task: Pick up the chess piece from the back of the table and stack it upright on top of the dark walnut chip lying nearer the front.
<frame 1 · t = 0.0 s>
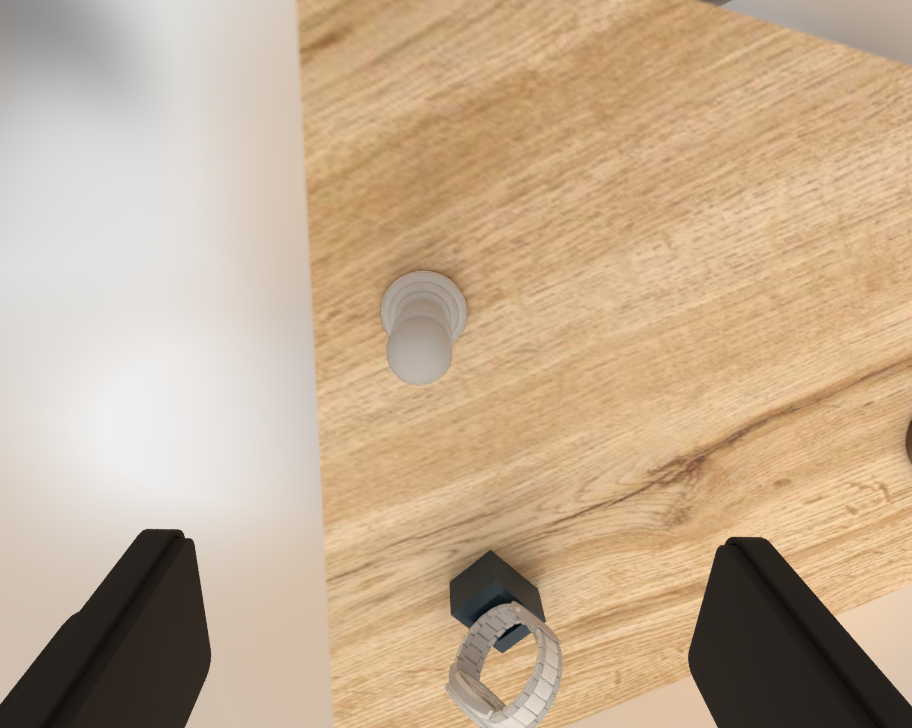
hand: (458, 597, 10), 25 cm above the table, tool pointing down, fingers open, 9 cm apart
watch: (493, 585, 42), on the table
chess piece: (424, 310, 34), on the table
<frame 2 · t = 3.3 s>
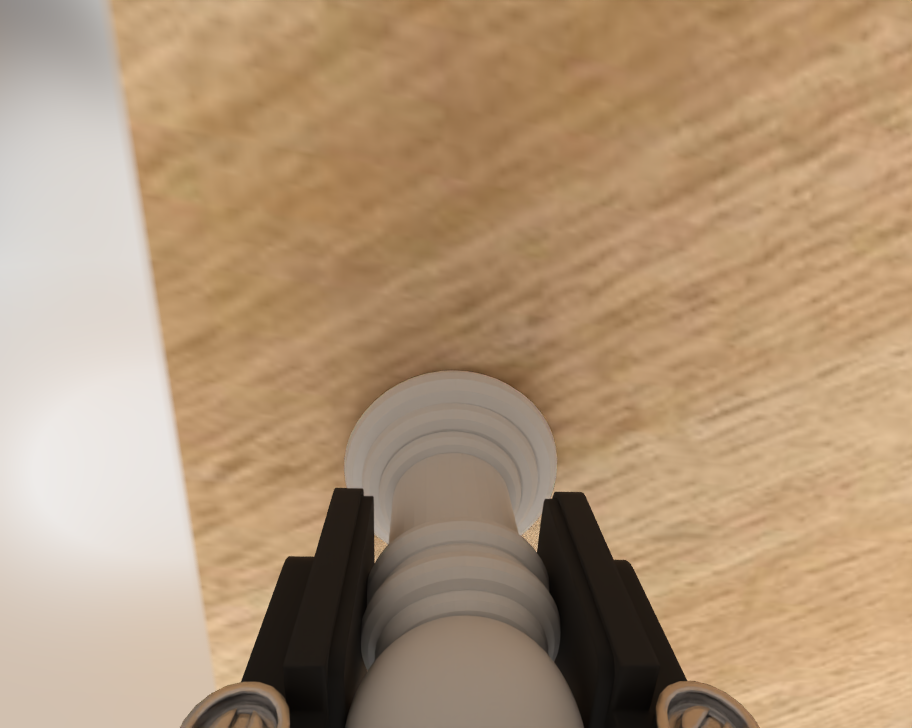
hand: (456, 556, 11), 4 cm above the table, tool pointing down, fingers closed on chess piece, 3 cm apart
chess piece: (450, 454, 14), on the table, touching gripper
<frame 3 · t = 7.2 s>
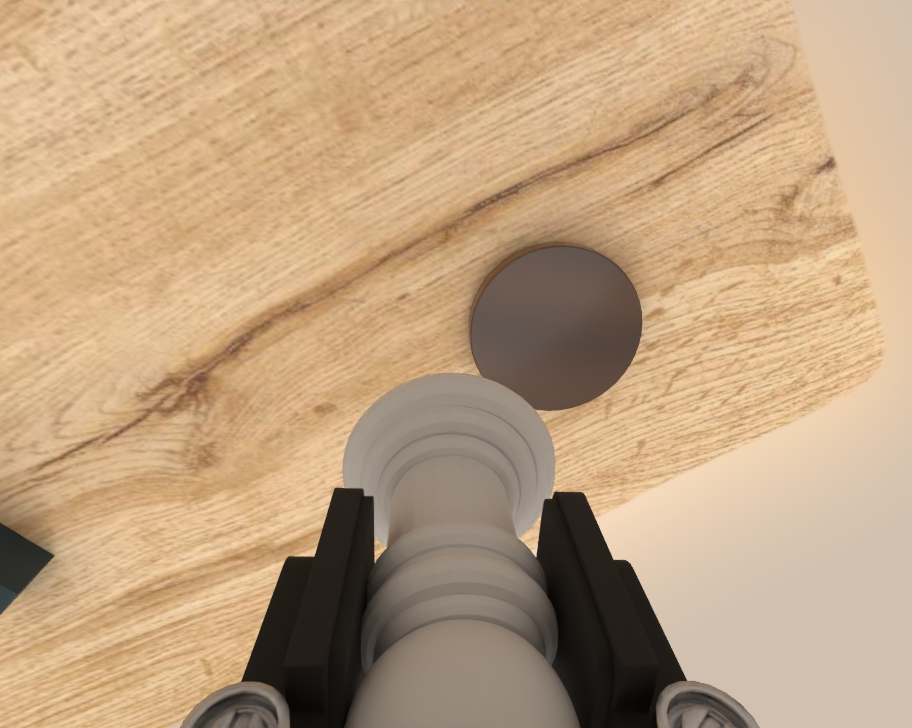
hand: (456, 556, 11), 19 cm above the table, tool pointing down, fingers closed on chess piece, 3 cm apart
chess piece: (448, 457, 14), point 15 cm above the table, touching gripper
walnut chip: (551, 326, 29), on the table
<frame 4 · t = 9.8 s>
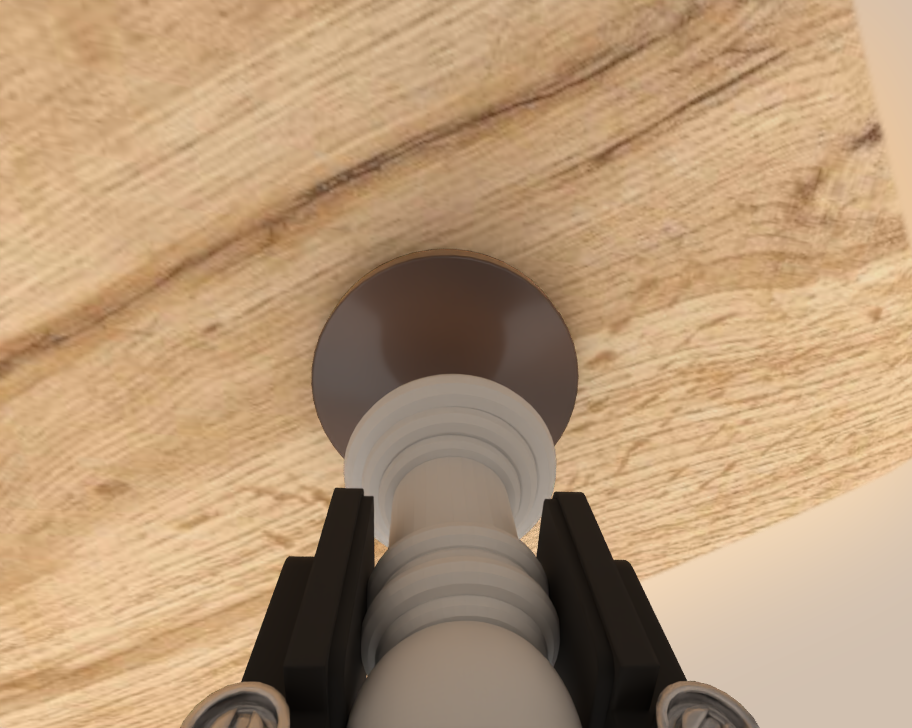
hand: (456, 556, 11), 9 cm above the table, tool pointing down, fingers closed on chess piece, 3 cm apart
chess piece: (449, 458, 14), point 5 cm above the table, touching gripper
walnut chip: (445, 375, 19), on the table
when the fingers open (5 cm above the table, at t = 11.3 s): chess piece stays where it is, resting on walnut chip.
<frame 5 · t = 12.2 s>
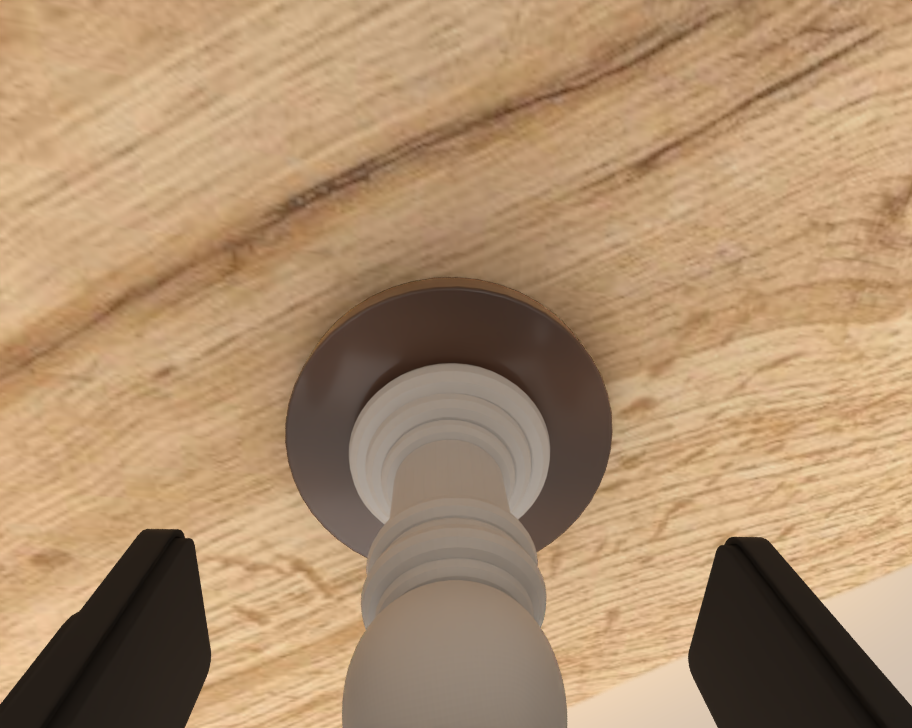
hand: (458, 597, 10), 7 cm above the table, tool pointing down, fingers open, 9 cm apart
chess piece: (449, 444, 15), point 1 cm above the table, touching walnut chip
walnut chip: (449, 427, 16), on the table, touching chess piece
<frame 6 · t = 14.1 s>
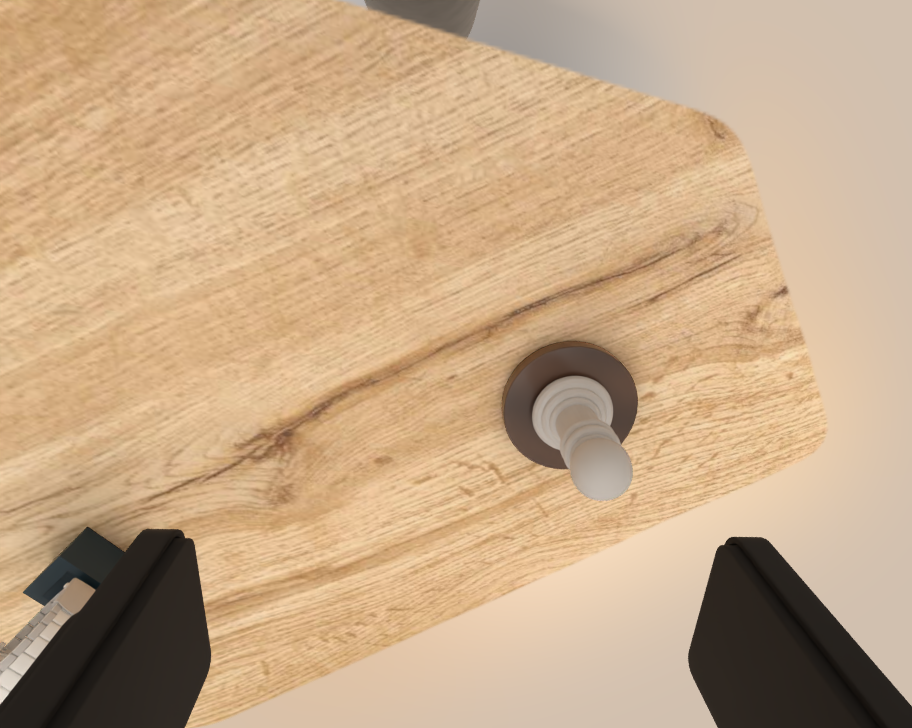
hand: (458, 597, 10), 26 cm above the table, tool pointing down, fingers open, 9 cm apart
watch: (103, 565, 41), on the table
chess piece: (569, 409, 36), point 1 cm above the table, touching walnut chip
walnut chip: (566, 403, 37), on the table, touching chess piece
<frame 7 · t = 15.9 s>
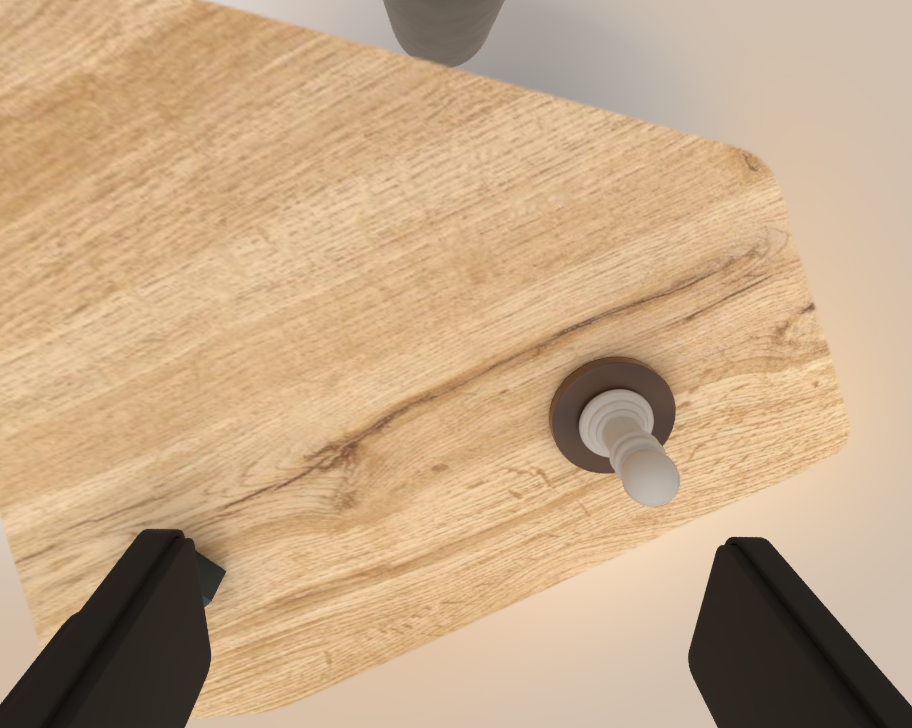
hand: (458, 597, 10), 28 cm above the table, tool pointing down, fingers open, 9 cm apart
watch: (182, 567, 44), on the table
chess piece: (613, 419, 40), point 1 cm above the table, touching walnut chip
walnut chip: (609, 413, 40), on the table, touching chess piece
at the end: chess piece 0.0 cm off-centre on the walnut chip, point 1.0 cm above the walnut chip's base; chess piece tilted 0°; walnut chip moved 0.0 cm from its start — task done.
